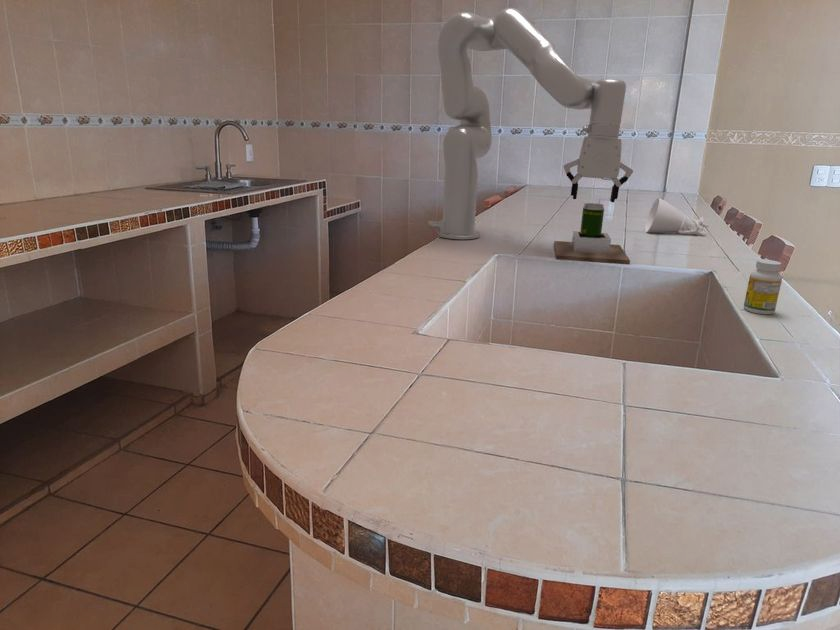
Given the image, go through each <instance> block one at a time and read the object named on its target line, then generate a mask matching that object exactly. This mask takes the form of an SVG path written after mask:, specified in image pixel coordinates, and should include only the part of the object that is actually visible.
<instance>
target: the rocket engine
mask: <svg viewBox="0 0 840 630" xmlns="http://www.w3.org/2000/svg"><path fill="white" fill-rule="evenodd" d="M704 220H705V218H704V217H703V216H700V217H699V218H698V219H696V218H693V219H690V218H689V217H688V216H687V215H686V213H685V214H684V213H683V212H682V211H680V210H679V209H678V208H677V207H675V206H673V205H672V204H671V203H669V202H667V201H666V200H664V199H662V198H660V197H657V198H656V199H655V200H654V202H653V204H652V206H651V208H650V210H649V211H648V215H647V218H646V222H645V224H644V225H645V226H644V231H645V233H649V234H671V233H676V234H678V235H679V234H680V235H689V234H692V235H693V236H700V237H703V236H704V237H706V236H707V233H706V231H704V228H705V229H707V228H709V223H708V222H705V221H704Z"/></svg>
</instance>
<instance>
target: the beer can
mask: <svg viewBox="0 0 840 630" xmlns="http://www.w3.org/2000/svg"><path fill="white" fill-rule="evenodd" d="M604 206H605V205H604V204H601V203H594V202H593V203H591V202H588V203H584V205H583V206H582V215H581V222H580V223H581V224H580V231H579V232H580V237H595V238H601V233H602V230H603V222H604V216H605V215H604V213H605V208H604Z"/></svg>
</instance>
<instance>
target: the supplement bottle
mask: <svg viewBox="0 0 840 630" xmlns="http://www.w3.org/2000/svg"><path fill="white" fill-rule="evenodd" d="M781 267H782V262H780V261H777V260H772V259H757V260H756V263H755V268H756V269H755V270H752V271H751V272H750V274H749V278H748V284H747V288H746V292H745V297H744V302H743V309H744V310H745V311H747V312H750V313H753V314H757V315H772V314H774V313H775V311H776V308H777V304H778V299H779V294H780V291H781V286H782V282H783V276H782V275H781V274H780V273H779V272H780V271H781Z"/></svg>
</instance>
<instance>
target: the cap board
mask: <svg viewBox="0 0 840 630" xmlns="http://www.w3.org/2000/svg"><path fill="white" fill-rule="evenodd" d="M611 243H612V238H611V237H610V236H609V234H608V233H607V232H601V238H595V237H580V231H578V230H577V231H575V230H573V231H572V239H571V241H564V240H563V241H562V240H561V241H560V240H554V243H553V247H554V252H555V259H556V260H563V261H579V262H592V263H608V264H622V265H630V264H631V260H630V258H629V257H628V255H627V254H626V252H625V250H624V249H623V248H622V246H621V244H611Z"/></svg>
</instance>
